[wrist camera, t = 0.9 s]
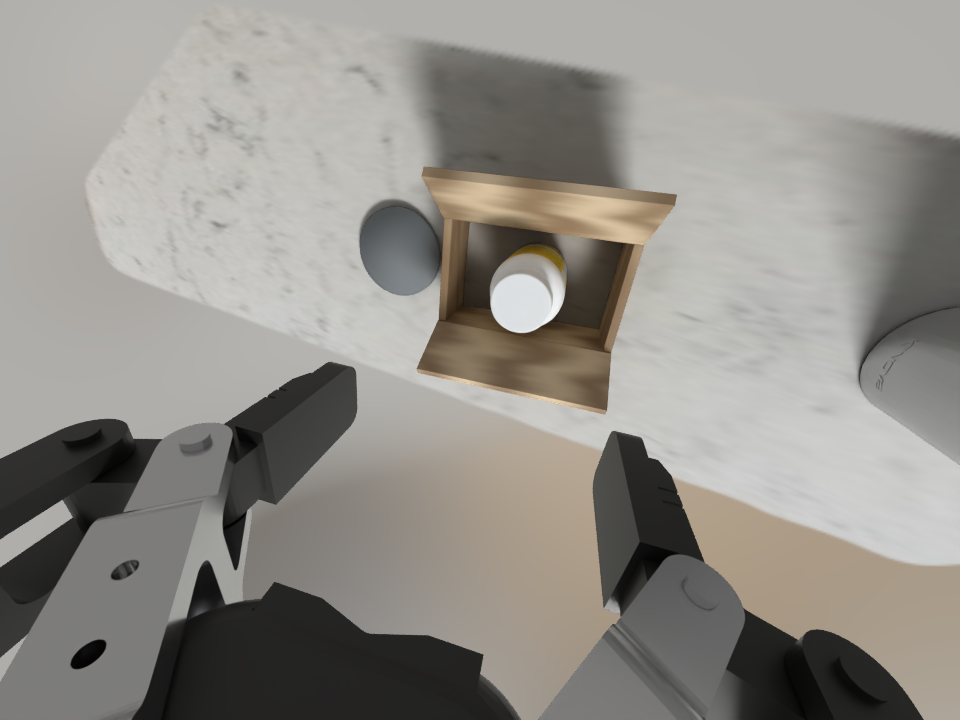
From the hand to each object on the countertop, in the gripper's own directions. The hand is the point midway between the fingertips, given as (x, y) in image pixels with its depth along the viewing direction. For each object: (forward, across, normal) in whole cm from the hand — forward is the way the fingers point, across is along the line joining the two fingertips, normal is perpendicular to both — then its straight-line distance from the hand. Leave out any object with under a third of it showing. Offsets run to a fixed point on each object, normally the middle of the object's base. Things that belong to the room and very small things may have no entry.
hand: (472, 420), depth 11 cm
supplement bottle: (+23, 0, 0) cm, 23 cm away
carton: (+23, 0, 0) cm, 23 cm away
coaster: (+23, +13, 0) cm, 26 cm away
